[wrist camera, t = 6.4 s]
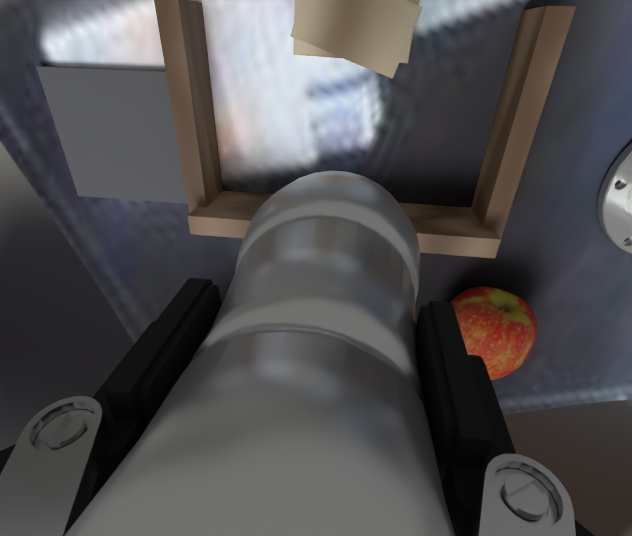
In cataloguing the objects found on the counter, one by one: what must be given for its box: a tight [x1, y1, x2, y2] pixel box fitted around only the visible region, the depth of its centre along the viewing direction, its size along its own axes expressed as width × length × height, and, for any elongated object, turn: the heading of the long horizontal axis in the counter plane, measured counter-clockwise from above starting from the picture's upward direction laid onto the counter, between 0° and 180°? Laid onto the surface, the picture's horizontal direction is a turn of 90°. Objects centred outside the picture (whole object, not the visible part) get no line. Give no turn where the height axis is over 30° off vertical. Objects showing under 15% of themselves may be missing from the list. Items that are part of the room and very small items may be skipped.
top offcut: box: [291, 0, 422, 79], centre depth 24 cm, size 7×4×2 cm, turn 71°
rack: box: [154, 0, 576, 258], centre depth 28 cm, size 26×16×6 cm, turn 89°
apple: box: [450, 286, 537, 380], centre depth 35 cm, size 8×8×8 cm
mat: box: [36, 66, 188, 204], centre depth 33 cm, size 11×11×1 cm
